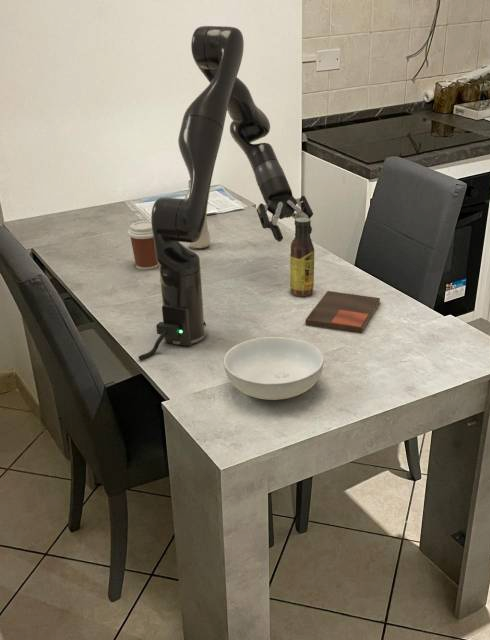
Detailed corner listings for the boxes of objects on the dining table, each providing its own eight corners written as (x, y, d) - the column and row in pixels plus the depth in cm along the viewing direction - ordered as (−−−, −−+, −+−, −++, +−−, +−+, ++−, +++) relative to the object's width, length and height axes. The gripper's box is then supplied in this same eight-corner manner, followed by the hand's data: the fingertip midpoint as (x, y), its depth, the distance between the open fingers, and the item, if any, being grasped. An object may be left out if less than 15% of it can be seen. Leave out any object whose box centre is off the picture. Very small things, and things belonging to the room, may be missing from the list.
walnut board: (361, 333, 191) (361, 327, 190) (305, 325, 195) (305, 319, 194) (379, 303, 205) (380, 297, 204) (327, 296, 209) (327, 290, 208)
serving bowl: (340, 377, 173) (341, 349, 169) (291, 423, 157) (291, 393, 154) (259, 354, 182) (258, 327, 178) (205, 396, 166) (203, 367, 163)
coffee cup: (125, 269, 226) (120, 228, 220) (140, 257, 234) (136, 218, 228) (154, 273, 224) (150, 231, 218) (168, 261, 231) (165, 221, 225)
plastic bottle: (213, 248, 239) (209, 182, 229) (191, 252, 237) (186, 185, 227) (207, 241, 245) (203, 176, 234) (185, 244, 242) (180, 179, 232)
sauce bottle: (308, 299, 208) (309, 225, 198) (286, 295, 210) (285, 222, 200) (317, 289, 213) (318, 217, 203) (295, 286, 215) (295, 214, 205)
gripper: (252, 178, 203) (276, 235, 200) (300, 170, 209) (324, 225, 206) (243, 194, 210) (266, 249, 207) (290, 185, 216) (312, 238, 213)
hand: (295, 237), depth 207 cm, fingers open, 8 cm apart
